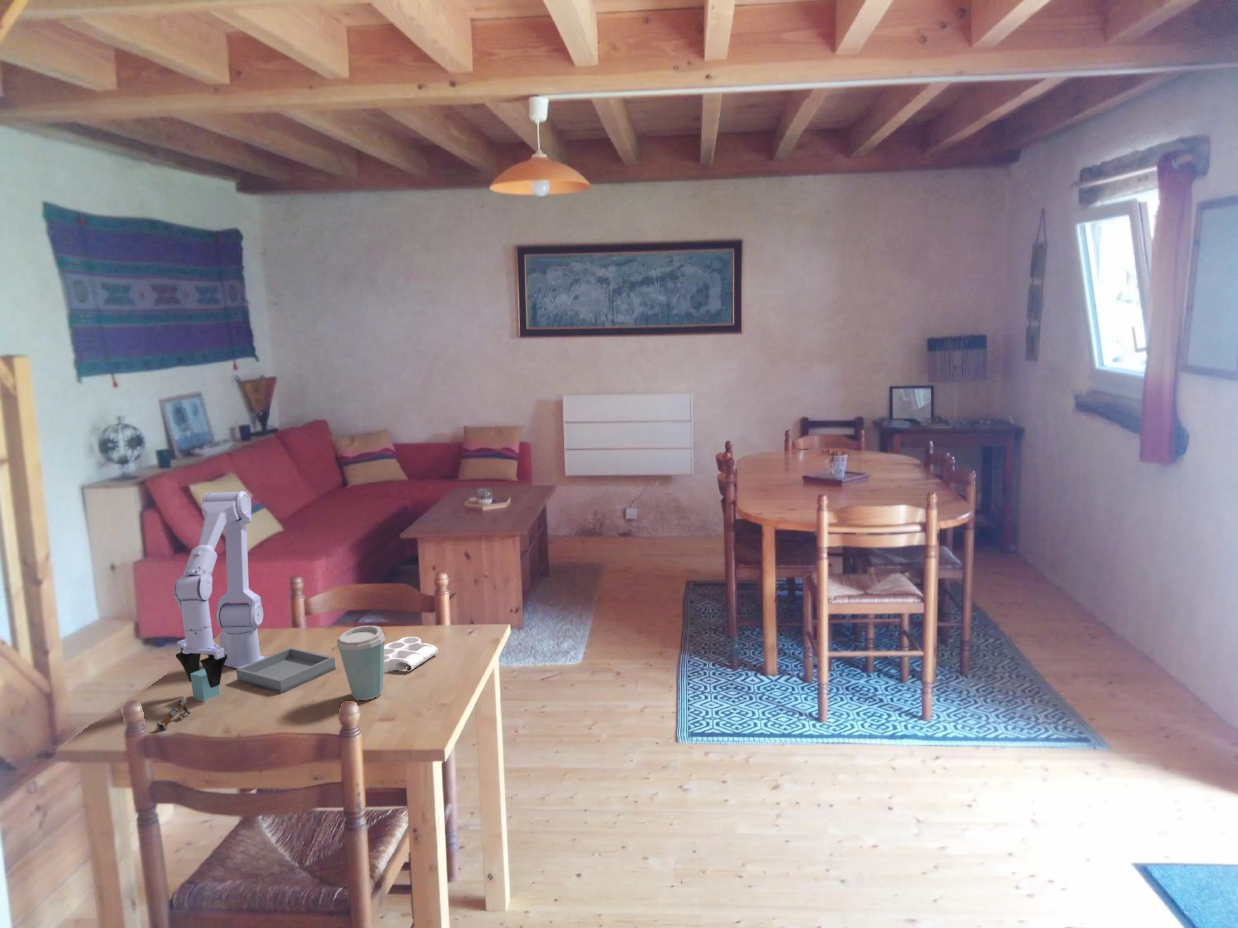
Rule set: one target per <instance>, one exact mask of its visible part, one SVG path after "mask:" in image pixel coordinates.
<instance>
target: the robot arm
mask: <svg viewBox="0 0 1238 928" xmlns="http://www.w3.org/2000/svg"><path fill="white" fill-rule="evenodd" d="M201 512H202V516H203V518H204V520H203V525H202V529H201V534H200V538H199V542H198V546H196V547H194V548H192V549H191V552H190V554H189V557H188V559H187V563H186V566H185V568H184V572H183V575H182V576H180V577H179V578H177V579H176V581H175V582H174V587H173V596H174V599H175V600H176V602H177V606H178V607H177V608H179V610H181V616H182V623H183V624H182V625H183V631H184V639H182V640H179V641H177V642H176V644H177V649H178V650H179V651H180V652H177V653H175V658H176V659H177V660H178V661H179V662H180V664H181V666H182V668H183V669H184V671H185V674H186V676H187V678H188V680H189V682H191V675H190V674H191V673H194V672H196V671H199V670H201V667H200V664H201V666H202V667H203V669H205V671H206V674H207V678H208V682H209V685H210V687H211V688H213V687H216V686H218V685H219V686H220V685H221V679H222V672H223V668H224V666H225V665H226V667H229V668H233V669H236V670H237V669H239V668H242V667H244V666H246V665H249V664H251V663H254V662H256V661H259V660H261V659H264V658H266V657H267V656H264V655H261V651H260V650H261V649H260V641H259V632H258V627H260V626H261V624H262V622H263V619H264V608H263V606H262V600H261V596H260V595H259V594H257V593H255V592H254V591H253V590H252V589H250V587H249V586H250V585H249V584H250V583H249V556H248V533H247V532H248V529H247V528H248V527H247V525H248V524H250V523H252V500H251V498H250V497H249V494H248V493H247V492H246V491H245V490H240V491H223V492H221V491H220V492H211V491H210V492H209V491H208V492H206V493H205V494H204V495H203V497H202V500H201ZM223 531H225V533H224V535H225V558H226V559H225V560H226V562H225V563H226V592H225V594H223V595H222V596H221V597H220V598H219V599H218V600H217V609H216V610H217V611H216V616H215V619H216V623H217V625H218V626H219V628H221V629H222V630H221V632H220V635H219V637H218V638H219V640H218V641H219V645H218V644H217V643H216V642H215V641H214V637H213V635H214V634H213V629H212V628H213V627H212V618H211V612H210V603H209V599H210V598H211V596H212V595H211V594H212V593H213V576H212V575H213V571H214V568H215V565H216V562H217V559H218V554H217V551H215V549H216V547H217V545H218V542H219V540H220V537H221V536H222V533H223ZM178 650H177V651H178ZM201 655H205V656H207V657H206V658H203V659H201Z"/></svg>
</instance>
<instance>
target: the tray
mask: <svg viewBox="0 0 1238 928" xmlns="http://www.w3.org/2000/svg"><path fill="white" fill-rule="evenodd" d="M265 657H266V658H264V659H261V660H259V661H256V662H254V663H251V664H249V665H246V666H244V667H242V668H239V669H237V668H236V678H237V680H236V681H237V682H238V681H239V682H238V683H241V684H245V685H249V686H253V687H256V688H257V687H258V688H261V689H264V690H268V691H271V692H275V693H278V694H284V693H286V692H288V691H291V690H293V689H295V688H297V687H299V686H302V685H304V684H305V683H308V682H310V681H312V680H315V679H317V678H319V677H321V676H323V675H325V674H328V673H330V672H333V671H334V670H336V669H337V668H336V659H335V656H329V655H326V654H321V653H316V652H314V651H313V652H311V651H308V650H304V649H299V648H295V647H289V648H287V649H283V650H281V651H279V652H276V653H274V654H271V655H269V656H265Z"/></svg>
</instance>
